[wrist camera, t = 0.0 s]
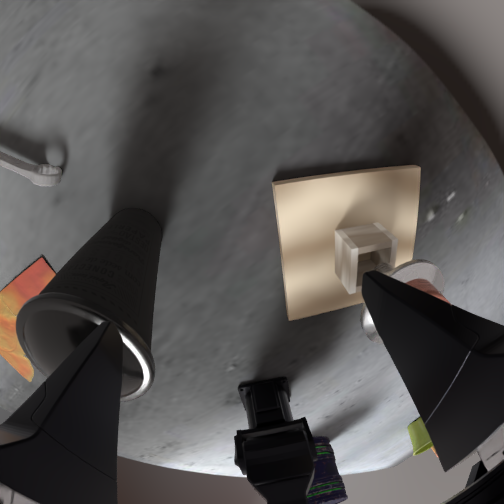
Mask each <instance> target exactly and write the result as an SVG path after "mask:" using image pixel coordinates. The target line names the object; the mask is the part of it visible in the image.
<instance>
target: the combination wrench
mask: <svg viewBox="0 0 504 504" xmlns="http://www.w3.org/2000/svg"><path fill="white" fill-rule="evenodd" d="M0 165H1V166H3V167H5V168H8V169H10V170H12V171H14V172H16V173H18V174H21V175H23V176H24V177H27V178H29V179H30V180H31V181H32V182H33V183H34V184H36V185H39V186H54V185H57V184H58V183H59V182H60V181H61V175H62V170H61V168H59V167H53V166H51V165H50V164H40V165H32V164H28V163H26V162H24V161H21V160H19V159H16V158H14V157H12V156H9V155H7V154H5V153H2V152H0Z"/></svg>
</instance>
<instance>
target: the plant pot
mask: <svg viewBox="0 0 504 504" xmlns="http://www.w3.org/2000/svg"><path fill="white" fill-rule="evenodd" d="M408 431H409V435H410V438H411V441H412V445H413V451H414V453H413V455H418V454H420V453H422V452H424V451H426V450H428V449H430V448H431V447H433V443H432V441H431V439H430V436H429V434H428V432H427V430H426V428H425V424H424V423H423V421H422V418H421V417H420V418H418V420H417V421H415V422H412V423H411V424H410V425H409V426H408Z"/></svg>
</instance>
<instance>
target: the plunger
mask: <svg viewBox="0 0 504 504" xmlns="http://www.w3.org/2000/svg"><path fill="white" fill-rule="evenodd" d="M373 270H376V271H378V272H381V273H383V274H385V275H388V276H390V277H392V278H395V279H397V280H399V281H401V282H404V283H406V284H408V285H410V286H413V287H415V288H417V289H419V290H422V291H424V292H426V293H428V294H430V295H433V296H435V297H437V298H439V299H441V300H443V301H446V302H448V303H449V301H448V300H447V299H446V298H445V297H444V296H443V291H444V277H443V274H442V272H441V271H440V270H439V269H438V268H437V267H436V266H435V265H434V264H433V263H432V262H430V261H427V260H423V259H417V260H411V261H408V262H405V263H403V264H401V265H399V266H397V267H396V268H394V267H393V266H392V265H391V264H389V263H382V264H379V265H377V266H376V267H375V268H374V269H373ZM360 321H361V326H362V329H363V330H364V332H365V334H366V335H367V337H368V338H369V339H370V340H371V341H373V342H376V343H380V344H384V343H383V341H382V339H381V338H380V336H379V334H378V332H377V330H376V328H375V325H374V323H373V321H372V318H371V316H370V313H369V311H368V309H367V306H366V304H365V302H364V305H363V308H362V311H361V318H360Z"/></svg>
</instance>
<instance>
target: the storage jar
mask: <svg viewBox="0 0 504 504" xmlns="http://www.w3.org/2000/svg"><path fill="white" fill-rule="evenodd" d="M313 440H314V443H315V447H316V451H317V458H318V459H317V461H314V465H315V470H314V479H313V481H312V484H311V487H310V489H309V492H308V494H307V499H308V503H309V504H338V503H340V502H342V501H344V500H346V499H348V497H347V495H346V491H345V489H344V488H345V486H344V483H342V482H343V481H342V478H341V476H340V475H339V473H338V469H337V466H336V463H335V460H336V459H335V456H334V452H333V449H332V448H331V445H330V444H329V442H330V441H329V438H327V437H324V436H318V437H313Z"/></svg>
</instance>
